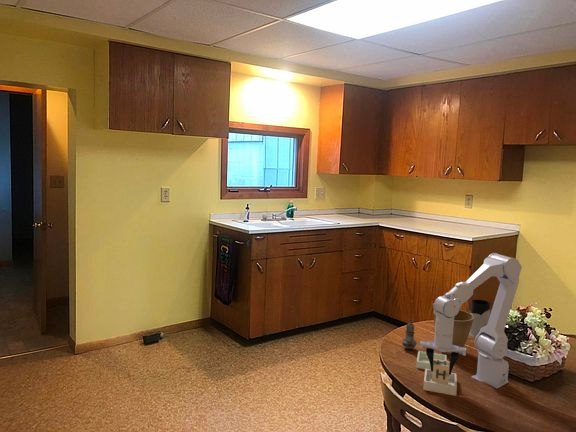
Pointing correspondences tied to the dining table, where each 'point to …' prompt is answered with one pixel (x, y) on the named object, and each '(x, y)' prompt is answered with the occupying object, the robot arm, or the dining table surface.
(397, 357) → the dining table surface
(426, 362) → the sage tray
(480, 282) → the robot arm
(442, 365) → the letter block
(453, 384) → the white tray
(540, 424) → the dining table surface
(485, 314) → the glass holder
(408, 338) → the salt shaker
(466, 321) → the plant pot
